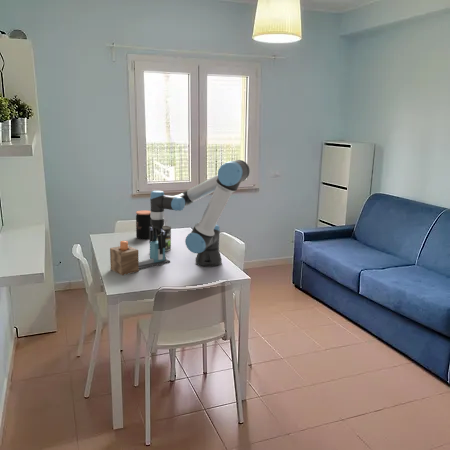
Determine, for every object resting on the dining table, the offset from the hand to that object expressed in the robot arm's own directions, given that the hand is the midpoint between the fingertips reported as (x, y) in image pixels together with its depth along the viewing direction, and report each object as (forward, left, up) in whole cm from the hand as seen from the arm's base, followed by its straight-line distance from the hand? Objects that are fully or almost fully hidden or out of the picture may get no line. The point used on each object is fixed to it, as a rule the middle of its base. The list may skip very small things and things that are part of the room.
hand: (157, 258), depth 254 cm
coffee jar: (+50, -24, -3) cm, 56 cm away
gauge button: (0, +21, +7) cm, 23 cm away
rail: (0, +5, -3) cm, 6 cm away
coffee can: (+20, -18, -3) cm, 27 cm away
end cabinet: (0, +21, -3) cm, 22 cm away
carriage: (0, 0, -1) cm, 1 cm away
